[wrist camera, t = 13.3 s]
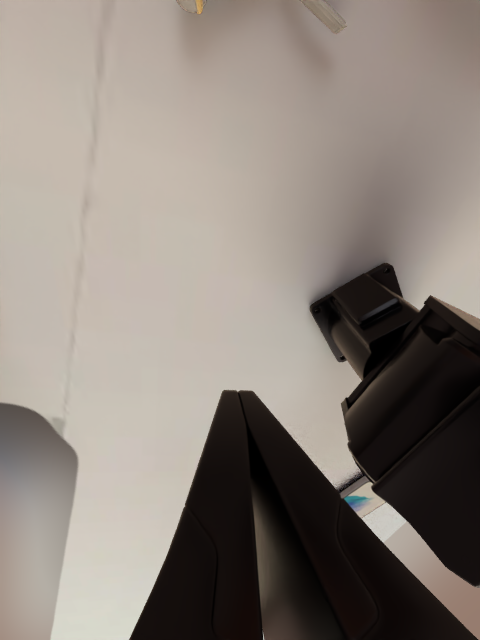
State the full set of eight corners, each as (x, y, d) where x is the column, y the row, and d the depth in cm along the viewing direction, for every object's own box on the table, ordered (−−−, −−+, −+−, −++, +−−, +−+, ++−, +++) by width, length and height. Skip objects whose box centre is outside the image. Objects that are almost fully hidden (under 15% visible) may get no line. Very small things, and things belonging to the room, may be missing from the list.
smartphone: (402, 492, 37) (318, 546, 42) (398, 485, 38) (316, 539, 43) (370, 478, 34) (283, 538, 39) (366, 471, 35) (281, 531, 40)
